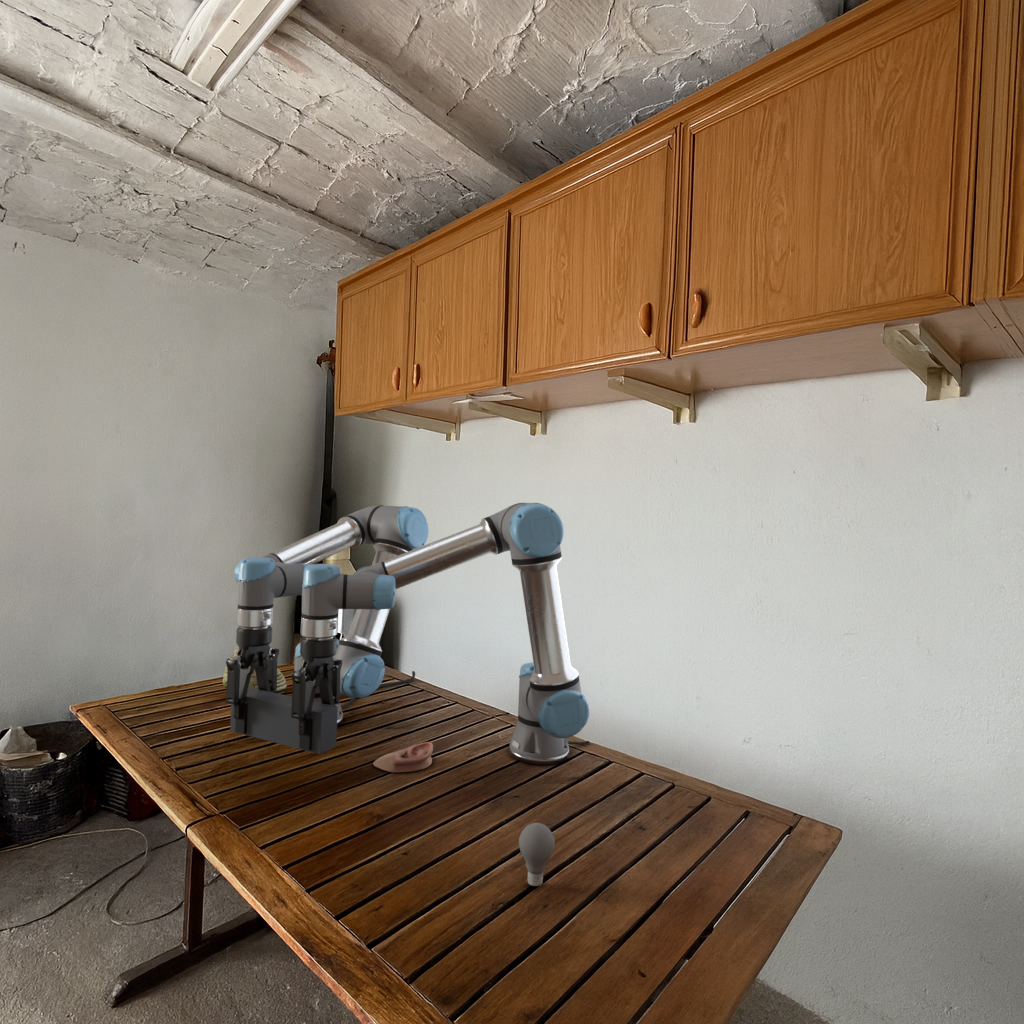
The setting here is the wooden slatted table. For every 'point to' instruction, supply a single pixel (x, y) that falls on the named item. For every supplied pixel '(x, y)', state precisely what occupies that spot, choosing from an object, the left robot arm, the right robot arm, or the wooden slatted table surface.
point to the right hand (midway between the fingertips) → (315, 743)
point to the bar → (287, 721)
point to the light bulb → (536, 850)
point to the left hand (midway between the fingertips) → (251, 728)
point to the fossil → (253, 680)
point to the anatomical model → (407, 759)
